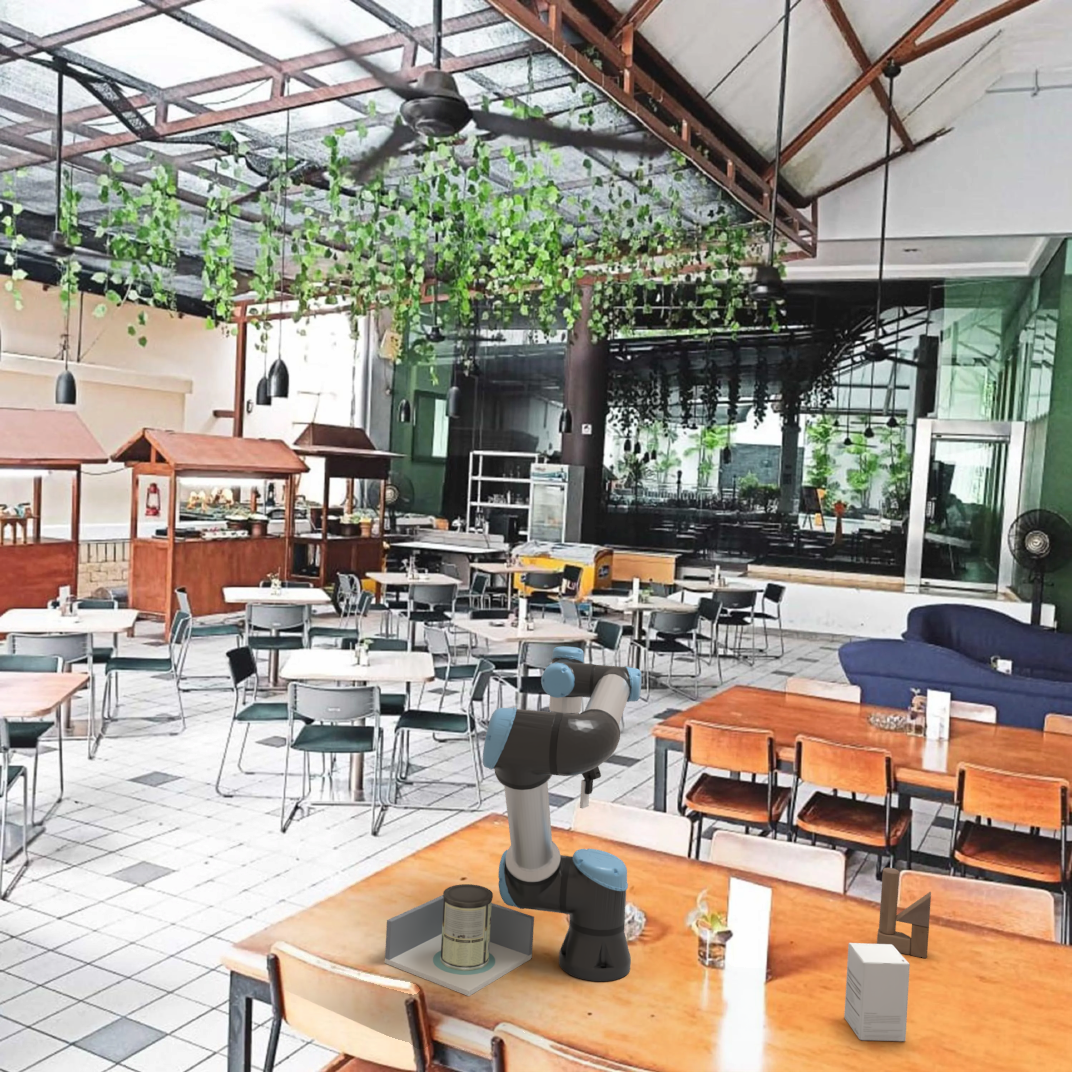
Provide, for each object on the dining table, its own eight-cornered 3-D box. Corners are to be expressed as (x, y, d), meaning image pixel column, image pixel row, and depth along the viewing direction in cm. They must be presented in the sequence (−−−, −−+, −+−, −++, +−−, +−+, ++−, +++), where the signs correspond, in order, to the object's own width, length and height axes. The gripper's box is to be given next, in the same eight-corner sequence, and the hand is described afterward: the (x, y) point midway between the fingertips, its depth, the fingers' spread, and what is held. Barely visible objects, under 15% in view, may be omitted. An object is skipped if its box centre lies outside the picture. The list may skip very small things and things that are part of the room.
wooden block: (926, 959, 227) (932, 879, 227) (876, 948, 231) (881, 870, 231) (927, 952, 231) (932, 874, 230) (877, 942, 235) (882, 866, 234)
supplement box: (888, 1018, 199) (893, 943, 199) (906, 1042, 190) (911, 963, 190) (842, 1016, 199) (847, 941, 198) (858, 1040, 190) (863, 961, 189)
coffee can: (432, 952, 214) (436, 886, 214) (478, 946, 218) (481, 881, 218) (449, 974, 205) (453, 905, 204) (496, 967, 209) (500, 899, 209)
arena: (531, 958, 217) (534, 916, 216) (468, 996, 198) (471, 950, 198) (451, 929, 229) (453, 890, 229) (384, 963, 210) (387, 920, 210)
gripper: (618, 718, 237) (613, 808, 238) (530, 702, 251) (525, 787, 251) (602, 723, 231) (597, 815, 231) (512, 706, 245) (507, 793, 245)
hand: (559, 801), depth 241 cm, fingers open, 13 cm apart
